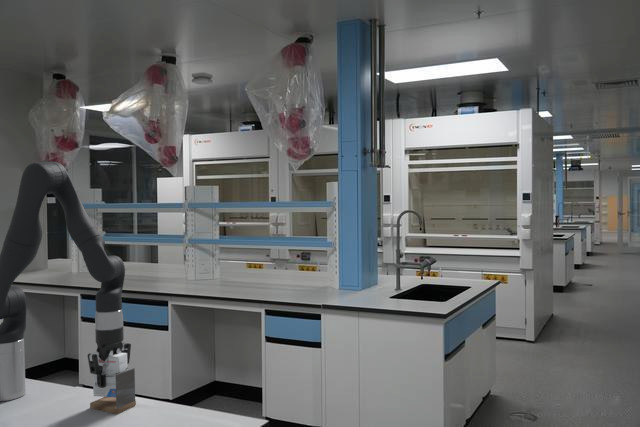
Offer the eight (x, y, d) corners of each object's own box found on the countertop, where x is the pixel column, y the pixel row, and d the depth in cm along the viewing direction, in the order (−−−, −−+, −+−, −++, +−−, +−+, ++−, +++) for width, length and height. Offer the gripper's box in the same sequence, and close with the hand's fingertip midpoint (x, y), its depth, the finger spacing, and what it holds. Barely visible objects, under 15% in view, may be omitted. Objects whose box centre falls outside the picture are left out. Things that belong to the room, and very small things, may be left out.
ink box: (129, 392, 162) (128, 352, 161) (119, 398, 157) (118, 356, 156) (102, 390, 163) (101, 350, 163) (92, 396, 158) (91, 355, 158)
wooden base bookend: (90, 408, 159) (89, 370, 159) (109, 399, 166) (108, 363, 165) (117, 414, 154) (116, 375, 154) (135, 405, 161) (135, 367, 160)
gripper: (98, 332, 151) (99, 394, 152) (137, 321, 164) (139, 378, 165) (79, 330, 155) (80, 389, 155) (119, 319, 168) (120, 374, 168)
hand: (110, 383), depth 160 cm, fingers closed on ink box, 5 cm apart
